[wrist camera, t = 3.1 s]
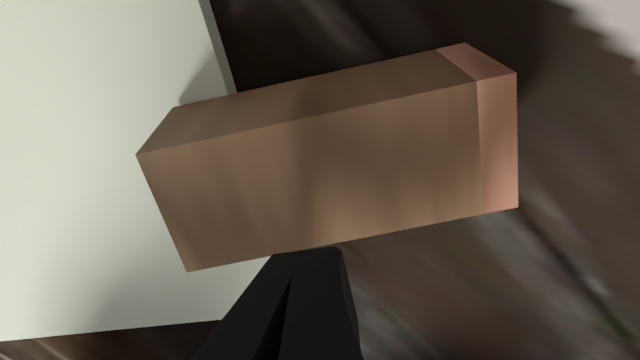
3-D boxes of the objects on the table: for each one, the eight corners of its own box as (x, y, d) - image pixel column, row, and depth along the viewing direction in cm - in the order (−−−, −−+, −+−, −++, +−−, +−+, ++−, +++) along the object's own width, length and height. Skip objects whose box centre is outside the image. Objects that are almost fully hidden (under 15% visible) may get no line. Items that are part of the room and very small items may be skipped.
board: (299, 296, 21) (296, 312, 20) (-63, 333, 24) (-79, 349, 23) (176, -107, 14) (163, -110, 13) (-316, 28, 17) (-353, 34, 16)
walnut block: (209, 205, 17) (471, 151, 17) (187, 272, 14) (518, 207, 13) (172, 107, 16) (465, 42, 15) (135, 154, 12) (516, 72, 11)
